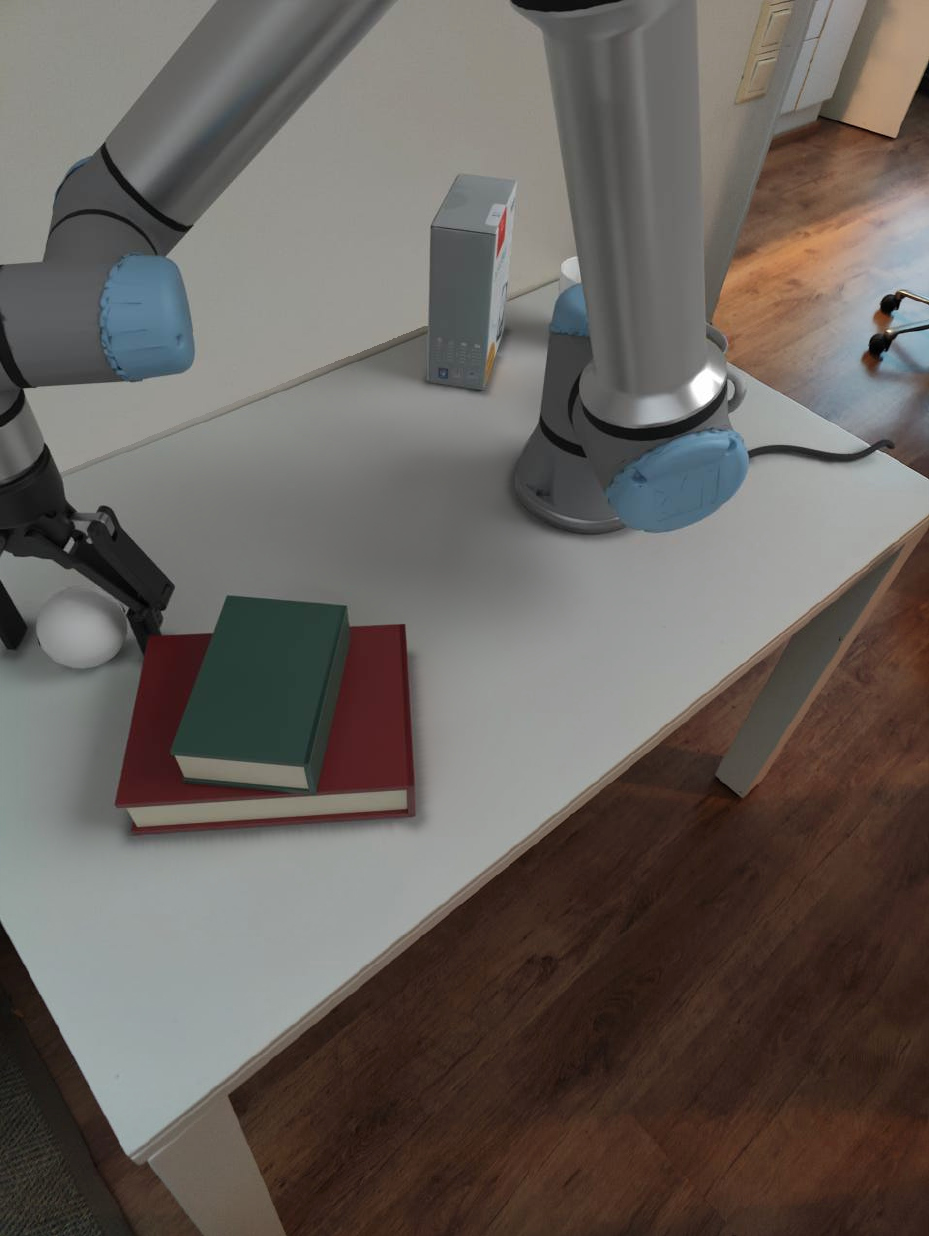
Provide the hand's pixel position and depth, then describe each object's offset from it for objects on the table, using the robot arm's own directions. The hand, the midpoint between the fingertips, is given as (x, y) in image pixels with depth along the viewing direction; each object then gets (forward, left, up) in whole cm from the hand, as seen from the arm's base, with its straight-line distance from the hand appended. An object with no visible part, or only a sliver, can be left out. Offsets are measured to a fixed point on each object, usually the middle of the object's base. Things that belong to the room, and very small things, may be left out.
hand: (86, 644), depth 75 cm
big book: (-20, +8, 0) cm, 21 cm away
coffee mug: (-58, -43, 0) cm, 72 cm away
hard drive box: (-31, -53, 0) cm, 61 cm away
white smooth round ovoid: (0, 0, 0) cm, 0 cm away
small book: (-20, +8, +5) cm, 22 cm away
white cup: (-46, -59, 0) cm, 75 cm away
